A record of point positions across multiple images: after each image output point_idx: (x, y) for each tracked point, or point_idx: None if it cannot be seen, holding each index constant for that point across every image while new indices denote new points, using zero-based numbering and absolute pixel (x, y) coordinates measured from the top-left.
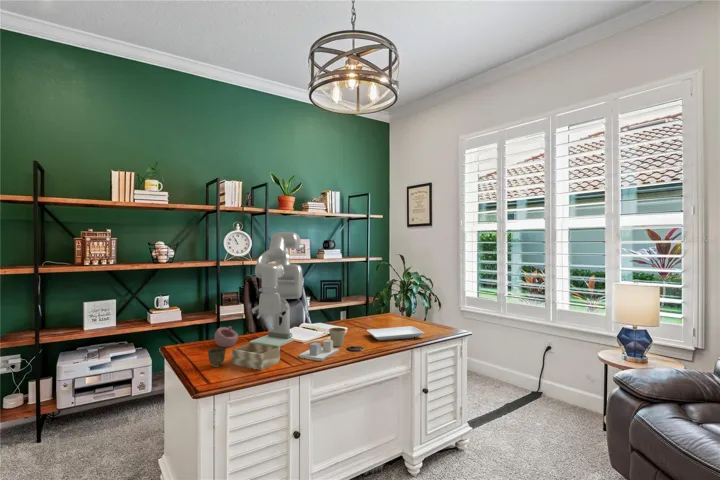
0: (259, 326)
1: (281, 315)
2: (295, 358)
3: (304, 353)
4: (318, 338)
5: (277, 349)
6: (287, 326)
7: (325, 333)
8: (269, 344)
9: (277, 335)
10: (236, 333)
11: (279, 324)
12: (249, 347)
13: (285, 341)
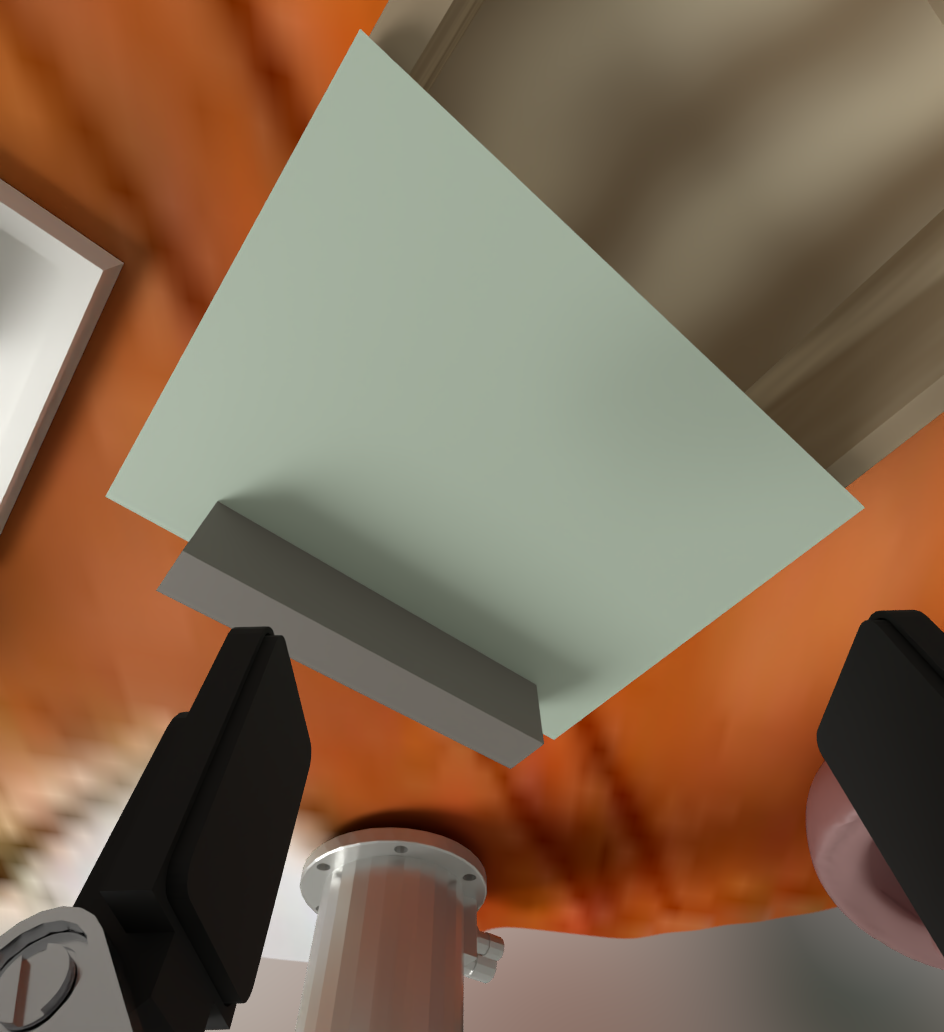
0: (898, 612)
1: (20, 1017)
2: (165, 238)
3: (47, 342)
4: (66, 811)
5: (382, 24)
6: (322, 962)
7: (40, 894)
8: (551, 211)
9: (398, 631)
10: (836, 883)
11: (269, 645)
12: (831, 422)
13: (232, 352)
